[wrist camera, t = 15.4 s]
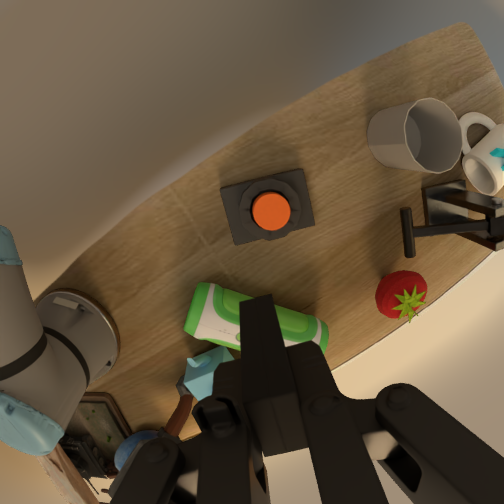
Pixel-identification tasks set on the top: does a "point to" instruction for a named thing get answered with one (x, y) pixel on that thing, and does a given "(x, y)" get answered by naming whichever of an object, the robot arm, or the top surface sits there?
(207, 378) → the teapot
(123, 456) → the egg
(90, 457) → the tank diorama
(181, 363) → the top surface
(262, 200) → the button
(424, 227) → the lever
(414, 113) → the cup
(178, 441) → the knife
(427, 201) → the bracket
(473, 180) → the white handled jug
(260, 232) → the control block
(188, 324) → the speaker
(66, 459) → the broken wood plank
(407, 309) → the strawberry
